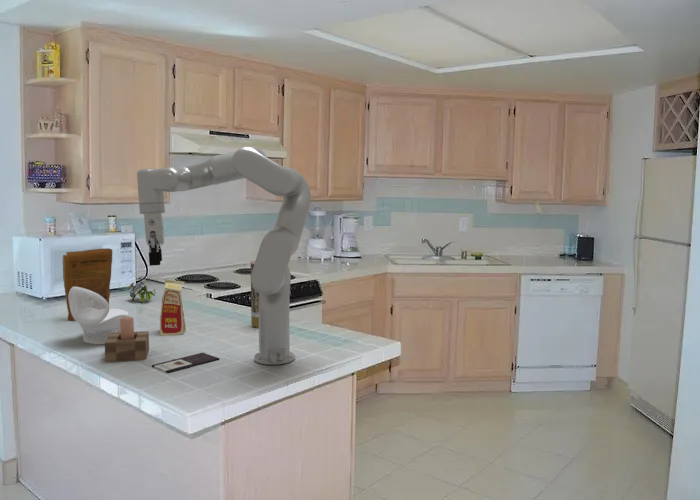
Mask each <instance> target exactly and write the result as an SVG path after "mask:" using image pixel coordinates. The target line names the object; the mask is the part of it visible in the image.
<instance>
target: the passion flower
mask: <svg viewBox="0 0 700 500" xmlns="http://www.w3.org/2000/svg"><path fill="white" fill-rule="evenodd" d="M146 281H147V280H146V278H145V279H143V280H142V281H139V282H138V283H137V284H135V282H132V283H130V284H129V286H128V288H127V289H128V290H129V289H131V288H132V289H131V290H130V292H129V297H130V298H131V300H130V302H134V301H135V298H137V295H138V296H139V300H140V302H141V304H145V303H144V302H148V301H151V299H152V296H153V297H155V295H156V289H153V290H151V291H148V290H147V286H146ZM134 284H135V285H134Z"/></svg>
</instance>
